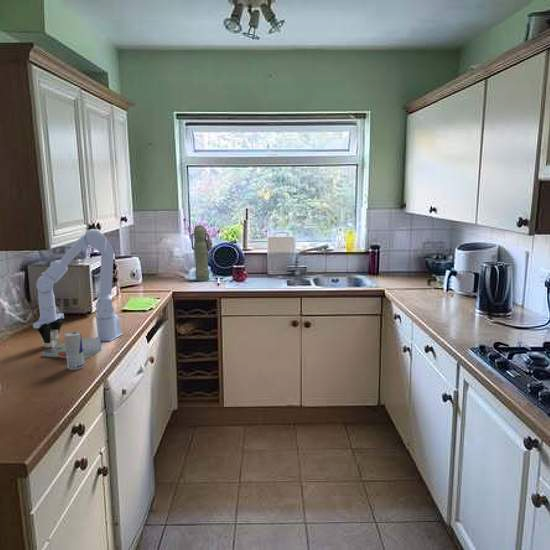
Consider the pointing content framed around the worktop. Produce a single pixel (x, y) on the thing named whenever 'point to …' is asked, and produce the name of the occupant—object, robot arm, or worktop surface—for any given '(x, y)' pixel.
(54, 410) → the worktop surface
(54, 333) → the column block
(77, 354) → the energy drink
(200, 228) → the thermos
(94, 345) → the stepped stand
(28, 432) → the worktop surface
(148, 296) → the worktop surface
